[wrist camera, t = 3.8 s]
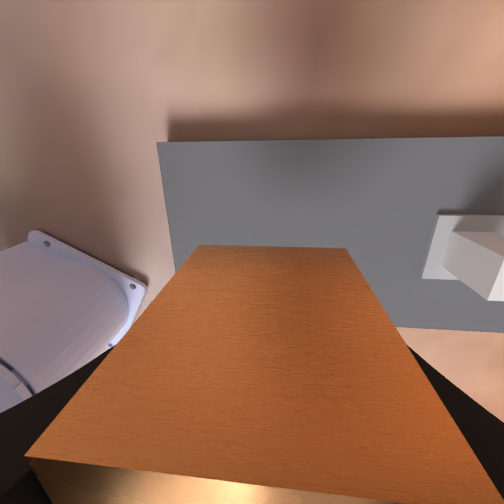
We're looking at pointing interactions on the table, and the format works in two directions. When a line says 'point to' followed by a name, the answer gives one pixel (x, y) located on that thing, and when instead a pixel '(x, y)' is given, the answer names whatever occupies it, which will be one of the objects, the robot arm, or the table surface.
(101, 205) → the table surface
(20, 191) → the table surface
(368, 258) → the mat
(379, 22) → the table surface
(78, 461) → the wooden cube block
